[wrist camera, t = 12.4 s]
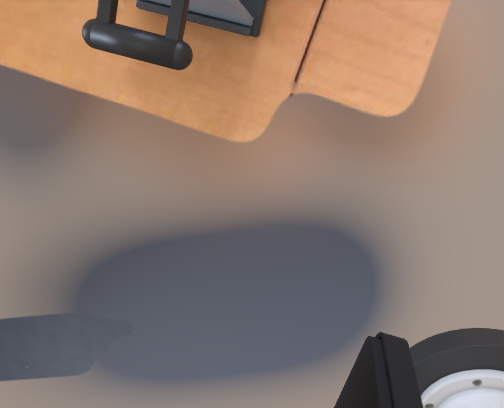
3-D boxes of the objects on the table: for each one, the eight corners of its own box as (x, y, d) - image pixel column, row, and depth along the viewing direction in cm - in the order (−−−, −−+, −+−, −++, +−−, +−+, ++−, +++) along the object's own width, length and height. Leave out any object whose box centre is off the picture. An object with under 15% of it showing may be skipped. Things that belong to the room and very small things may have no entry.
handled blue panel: (59, -57, 21) (50, 37, 23) (226, -16, 21) (206, 78, 22) (141, -10, 32) (132, 52, 33) (253, 18, 31) (239, 80, 33)
